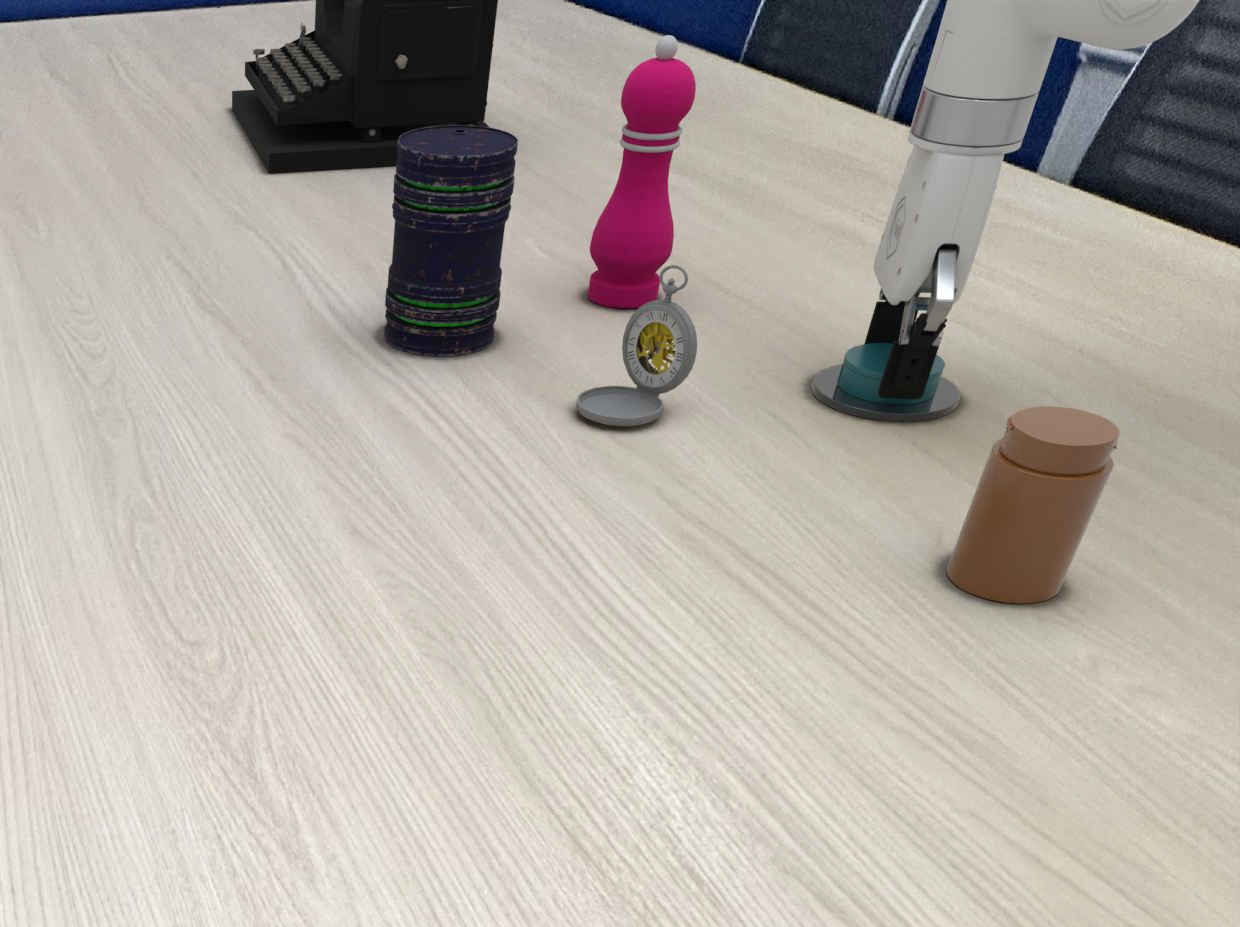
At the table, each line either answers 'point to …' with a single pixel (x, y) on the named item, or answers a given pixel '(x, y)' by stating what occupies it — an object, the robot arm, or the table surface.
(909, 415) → the coaster
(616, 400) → the pocket watch
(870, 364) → the jam lid
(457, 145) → the dark blue cylinder
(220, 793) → the table surface
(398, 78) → the typewriter
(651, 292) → the pepper mill
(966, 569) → the jam jar
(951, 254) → the robot arm
